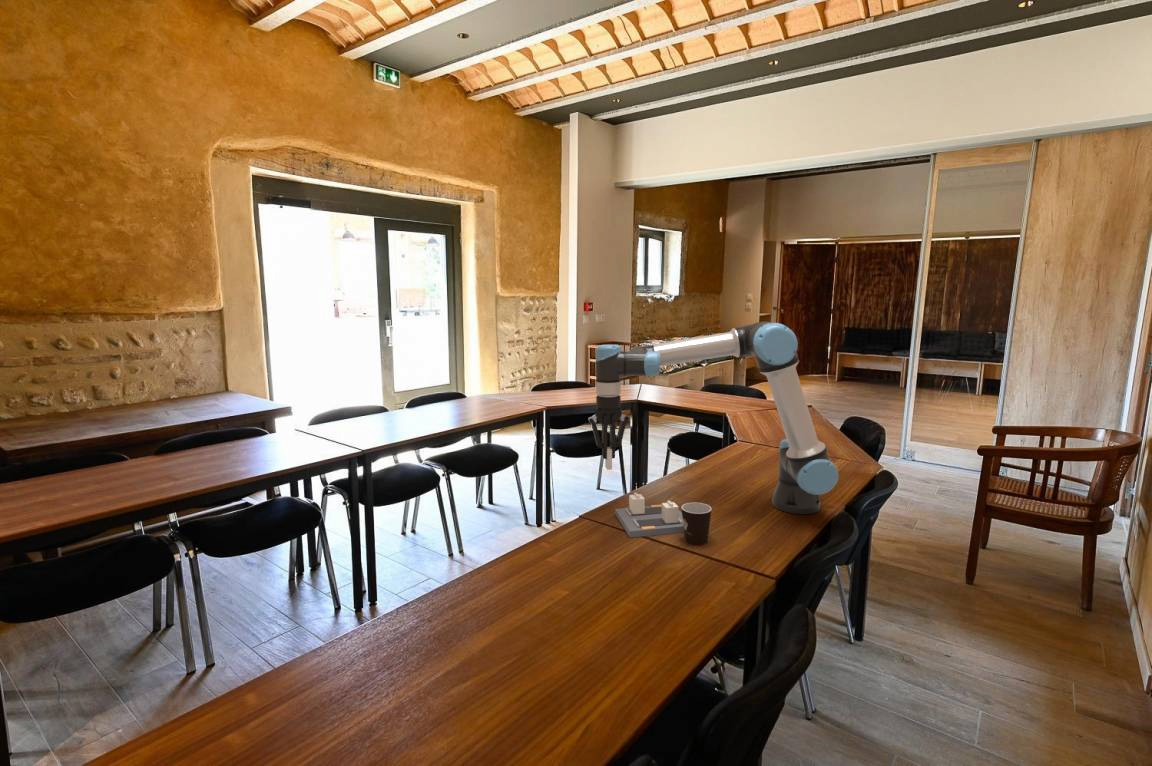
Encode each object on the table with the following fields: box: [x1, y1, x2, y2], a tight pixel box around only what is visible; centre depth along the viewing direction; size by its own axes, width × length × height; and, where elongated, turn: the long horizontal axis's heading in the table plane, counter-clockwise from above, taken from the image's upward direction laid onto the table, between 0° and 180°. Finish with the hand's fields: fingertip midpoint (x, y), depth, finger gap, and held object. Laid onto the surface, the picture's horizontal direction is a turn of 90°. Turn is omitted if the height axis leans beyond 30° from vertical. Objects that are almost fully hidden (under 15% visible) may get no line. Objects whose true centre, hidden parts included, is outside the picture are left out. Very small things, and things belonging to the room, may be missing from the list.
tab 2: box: [661, 500, 680, 523], centre depth 174 cm, size 4×4×6 cm
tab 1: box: [628, 492, 646, 514], centre depth 182 cm, size 4×4×6 cm
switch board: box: [614, 503, 684, 539], centre depth 179 cm, size 20×18×3 cm
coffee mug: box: [681, 501, 713, 546], centre depth 166 cm, size 12×9×10 cm
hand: (608, 468), depth 178 cm, fingers closed
